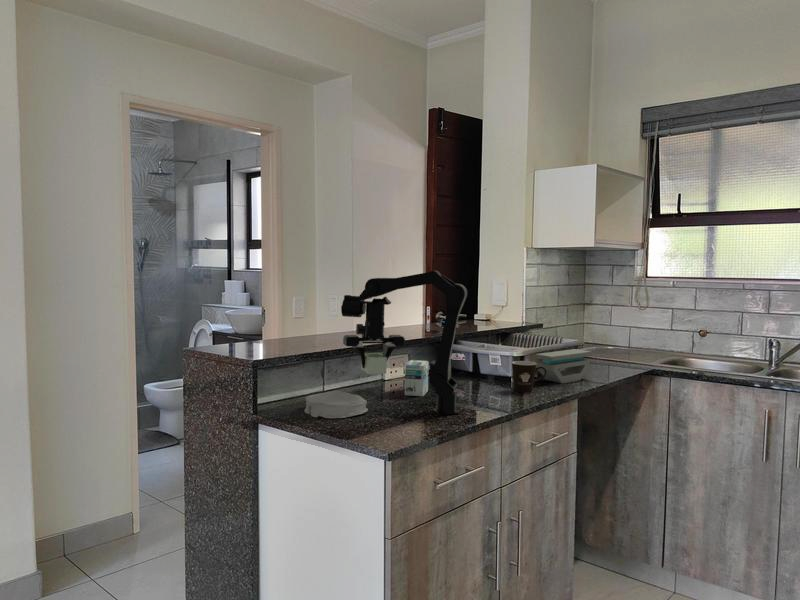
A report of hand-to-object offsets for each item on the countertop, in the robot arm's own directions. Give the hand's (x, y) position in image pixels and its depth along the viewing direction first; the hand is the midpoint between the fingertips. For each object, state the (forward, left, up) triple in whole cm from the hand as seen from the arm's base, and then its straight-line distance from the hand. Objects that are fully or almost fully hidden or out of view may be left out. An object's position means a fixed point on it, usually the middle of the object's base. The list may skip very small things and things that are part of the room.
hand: (373, 367), depth 195 cm
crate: (0, 0, -1) cm, 1 cm away
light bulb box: (+16, -20, -13) cm, 29 cm away
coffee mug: (+10, -60, -13) cm, 62 cm away
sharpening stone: (+25, -84, -13) cm, 89 cm away
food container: (-2, +12, -13) cm, 18 cm away
